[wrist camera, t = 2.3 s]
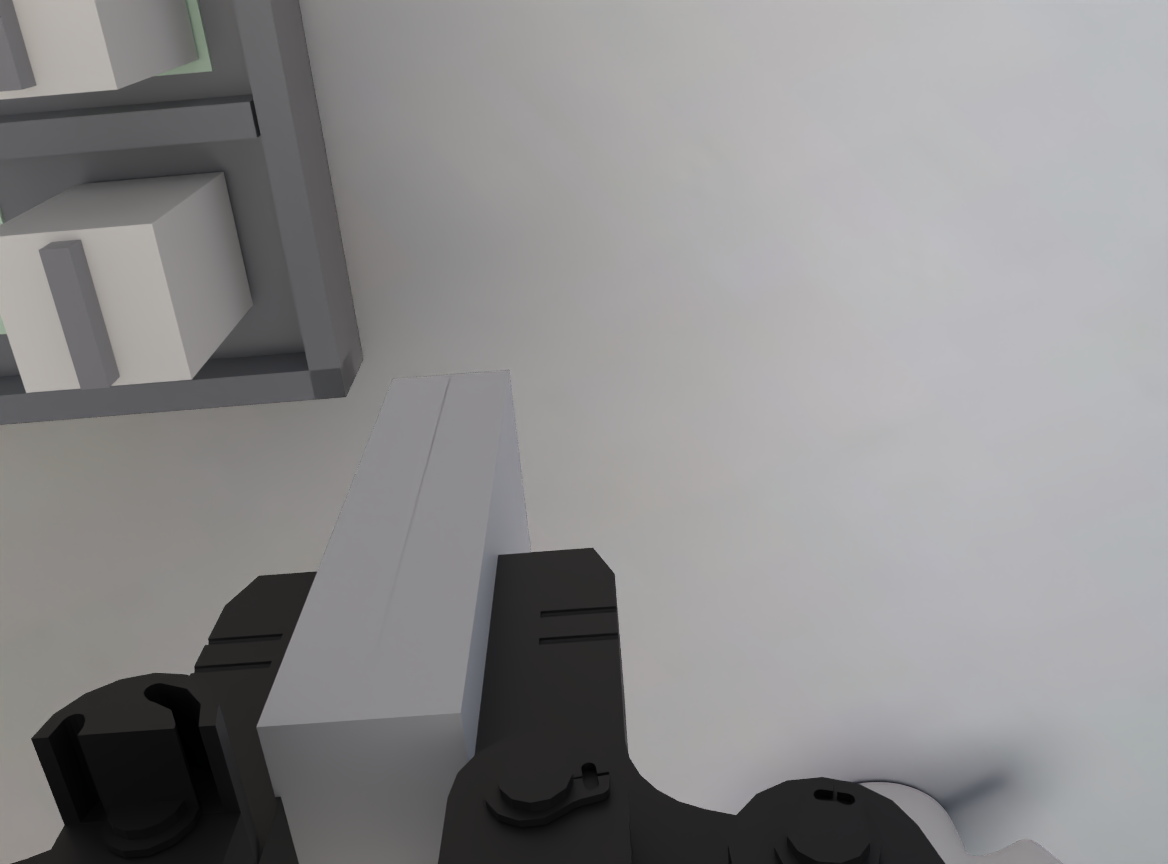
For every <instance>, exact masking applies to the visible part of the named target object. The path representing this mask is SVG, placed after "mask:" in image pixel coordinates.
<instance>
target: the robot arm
mask: <svg viewBox="0 0 1168 864" xmlns="http://www.w3.org/2000/svg"><path fill="white" fill-rule="evenodd" d="M208 640H209V645H205V646H204V648H203V650H202V652H201V654H200V656H199V658H198V660H197V662H196V664H195V666H194V667H195V672H194V673H191V674H190V676H188V675H183V674H166V673H152V674H147V675H142V676H136V677H131V678H126V679H120V680H118V681H115V682H113V683H111V684H108V685H106V686H103V687H101V688H98V689H96V690H93V691H91V692H88V693H86V694H84V695H82V696H81V697H79V698H78V699H76V700H75V701H73V702H72V703H70V704H69V705H67V706H66V707H64V708H63V709H61V710H59V711H58V712H56V713H55V714H53V716H52V717H51V718H50V719H49V720H48V721H47V722H46V723H45V724H44V725H43V726H42V727H41V729H40V730H39V731H38V732H37V733H36V734H35V735H34V736H33V737H32V738H31V739H32V742H33V745H34V747H35V750H36V752H37V755H38V757H39V760H40V763H41V765H42V768H43V770H44V773H45V775H46V778H47V781H48V783H49V786H50V788H51V791H52V794H53V796H54V799H55V801H56V804H57V806H58V809H59V812H60V814H61V817H62V819H63V822H64V824H65V826H64V827H63V829H62V831H61V833H60V835H59V836H58V838H57V840H56V842H55V843H54V845H53V847H52V849H51V850H49V851H46V852H43V853H41V854H38V855H36V856H33V857H30V858H28V859H25V860H22V861H18V862H15V863H12V864H945V862H944V861H943V860H942V858H941V857H940V855H939V854H938V853H937V851H936V850H935V848H934V847H933V846H932V844H931V843H930V841H929V840H928V839H927V837H926V836H925V834H924V833H923V832H922V830H921V829H920V827H919V826H918V825H917V824H916V823H915V822H914V821H913V820H912V819H911V818H910V817H909V816H908V815H907V814H906V813H905V812H904V811H903V810H902V809H901V808H900V807H899V806H898V805H897V804H896V803H895V802H894V801H893V800H891V799H889V798H887V797H885V796H883V795H881V794H879V793H877V792H875V791H873V790H871V789H868V788H866V787H864V786H862V785H860V784H857V783H852V782H846V781H841V780H835V779H830V778H824V777H819V778H809V779H799V780H789V781H785V782H783V783H781V784H778V785H776V786H774V787H771V788H769V789H767V790H765V791H762V792H760V793H758V794H756V795H755V796H754V797H753V798H752V799H751V801H750V802H749V803H748V804H747V805H746V806H745V807H744V808H743V809H742V810H741V811H740V812H739V813H738V814H737V815H732V814H726V813H721V812H716V811H711V810H706V809H702V808H699V807H696V806H692V805H689V804H685V803H682V802H679V801H677V800H675V799H673V798H671V797H669V796H668V795H666V794H664V793H662V792H660V791H658V790H657V789H655V788H654V787H653V786H652V785H651V784H650V783H649V782H648V781H646V780H645V779H644V778H643V777H642V776H641V775H640V774H639V772H638V771H637V769H636V768H635V766H634V764H633V763H632V761H631V760H630V758H629V754H628V744H627V730H626V714H625V699H624V685H623V673H622V660H621V648H620V635H619V623H618V610H617V598H616V586H615V574H614V573H613V571H612V570H611V569H610V568H609V567H608V565H607V564H606V563H605V562H604V561H603V559H602V558H601V557H600V556H599V555H598V553H597V552H596V551H595V550H594V549H593V548H584V549H571V550H557V551H543V552H531V549H530V541H529V532H528V524H527V515H526V507H525V499H524V490H523V482H522V474H521V465H520V457H519V448H518V440H517V432H516V423H515V415H514V406H513V398H512V390H511V381H510V373H509V370H501V371H488V372H475V373H463V374H450V375H437V376H424V377H412V378H399V379H393V380H392V382H391V385H390V387H389V390H388V392H387V395H386V397H385V400H384V403H383V405H382V408H381V410H380V413H379V415H378V418H377V420H376V423H375V426H374V428H373V431H372V433H371V436H370V438H369V441H368V443H367V446H366V449H365V451H364V454H363V456H362V459H361V461H360V464H359V466H358V469H357V472H356V474H355V477H354V479H353V482H352V484H351V487H350V489H349V492H348V494H347V497H346V500H345V502H344V505H343V507H342V510H341V512H340V515H339V517H338V520H337V523H336V525H335V528H334V530H333V533H332V535H331V538H330V540H329V543H328V546H327V548H326V551H325V553H324V556H323V558H322V561H321V563H320V566H319V569H318V571H317V572H304V573H291V574H277V575H264V576H258V577H257V578H256V579H255V580H254V581H253V582H251V583H250V584H249V585H248V586H247V587H246V588H245V589H244V590H242V591H241V592H240V593H239V594H238V595H237V596H236V597H234V598H233V599H232V600H231V601H230V602H229V603H228V604H226V605H225V607H224V609H223V611H222V613H221V615H220V617H219V619H218V621H217V623H216V625H215V627H214V629H213V631H212V633H211V635H210V637H209V638H208Z"/></svg>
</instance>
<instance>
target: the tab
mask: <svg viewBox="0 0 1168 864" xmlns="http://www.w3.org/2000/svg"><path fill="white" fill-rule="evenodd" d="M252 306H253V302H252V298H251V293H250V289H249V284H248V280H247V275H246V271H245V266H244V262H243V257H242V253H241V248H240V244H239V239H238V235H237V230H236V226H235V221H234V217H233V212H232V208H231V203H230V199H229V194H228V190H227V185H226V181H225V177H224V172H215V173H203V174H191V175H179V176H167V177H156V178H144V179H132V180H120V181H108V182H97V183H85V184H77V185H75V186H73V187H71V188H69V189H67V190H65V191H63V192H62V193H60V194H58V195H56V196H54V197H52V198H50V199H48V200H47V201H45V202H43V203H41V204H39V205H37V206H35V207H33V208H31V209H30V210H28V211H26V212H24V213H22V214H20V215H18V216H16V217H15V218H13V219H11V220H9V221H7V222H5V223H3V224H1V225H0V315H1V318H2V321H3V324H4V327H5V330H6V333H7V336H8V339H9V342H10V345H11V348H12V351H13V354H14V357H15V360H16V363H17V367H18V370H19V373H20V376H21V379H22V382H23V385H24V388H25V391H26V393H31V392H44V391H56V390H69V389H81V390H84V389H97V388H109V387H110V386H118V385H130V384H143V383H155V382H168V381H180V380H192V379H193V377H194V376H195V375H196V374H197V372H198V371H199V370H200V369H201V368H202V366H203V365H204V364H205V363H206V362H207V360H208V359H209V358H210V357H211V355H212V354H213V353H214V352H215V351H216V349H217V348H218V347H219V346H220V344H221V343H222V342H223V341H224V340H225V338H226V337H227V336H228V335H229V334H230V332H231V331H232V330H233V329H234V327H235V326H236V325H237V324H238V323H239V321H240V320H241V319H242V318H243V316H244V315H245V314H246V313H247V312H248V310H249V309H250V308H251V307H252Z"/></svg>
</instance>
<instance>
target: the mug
mask: <svg viewBox="0 0 1168 864" xmlns="http://www.w3.org/2000/svg"><path fill="white" fill-rule="evenodd" d="M859 784H860V785H862V786H864V787H866V788H868V789H871V790H873V791H875V792H877V793H879V794H881V795H883V796H885V797H887V798H889V799H891V800H893V801H894V802H895V803H896V804H897V805H898V806H899V807H900V808H901V809H902V810H903V811H904V812H905V813H906V814H907V815H908V816H909V817H910V818H911V819H912V820H913V821H914V822H915V823H916V824H917V825H918V826H919V827H920V829H921V830H922V832H923V833H924V834H925V836H926V837H927V839H928V840H929V841H930V843H931V844H932V846H933V847H934V848H935V850H936V851H937V853H938V854H939V855H940V857H941V858H942V860H943V861H944V862H945V864H1063V863H1062V862H1061V861H1060V860H1058V859H1057V858H1056V857H1054V856H1053V855H1052V854H1051V853H1049V852H1048V851H1047V850H1046V849H1044V848H1043V847H1042V846H1040V845H1039V844H1037V843H1036V842H1034V841H1032V840H1029V839H1023V840H1020V841H1017V842H1015V843H1013V844H1012V845H1010V846H1008V847H1006V848H1004V849H1002V850H1000V851H997V852H994V853H991V854H987V855H980V856H971V855H968V854H967V852H966V850H965V848H964V845H963V843H962V841H961V839H960V837H959V835H958V833H957V830H956V828H955V826H954V824H953V822H952V820H951V818H950V817H949V815H948V813H947V812H946V811H945V809H944V808H943V807H942V806H941V805H940V804H939V803H938V802H937V801H936V800H934V799H933V798H932V797H930V796H929V795H927V794H925V793H923V792H921V791H919V790H917V789H914V788H912V787H909V786H905V785H901V784H896V783H888V782H867V783H859Z"/></svg>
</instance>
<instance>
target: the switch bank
mask: <svg viewBox="0 0 1168 864" xmlns="http://www.w3.org/2000/svg"><path fill="white" fill-rule="evenodd" d="M185 1H186V6H187V10H188V15H189V19H190V24H191V28H192V33H193V37H194V42H195V46H196V51H197V55H198V60H196V61H193V62H190V63H188V64H185V65H182V66H180V67H177V68H174V69H172V70H169V71H166V72H163V73H161V74H158V75H155V76H153V77H150V78H147V79H144V80H142V81H139V82H136V83H134V84H131V85H128V86H125V87H123V88H120V89H117V90H106V91H94V92H83V93H71V94H60V95H48V96H36V97H25V98H13V99H2V100H0V225H1V224H3V223H5V222H7V221H9V220H11V219H13V218H15V217H16V216H18V215H20V214H22V213H24V212H26V211H28V210H30V209H31V208H33V207H35V206H37V205H39V204H41V203H43V202H45V201H47V200H48V199H50V198H52V197H54V196H56V195H58V194H60V193H62V192H63V191H65V190H67V189H69V188H71V187H73V186H75V185H77V184H85V183H97V182H108V181H120V180H132V179H144V178H156V177H167V176H179V175H191V174H203V173H215V172H224V177H225V181H226V185H227V190H228V194H229V199H230V203H231V208H232V212H233V217H234V221H235V226H236V230H237V235H238V239H239V244H240V248H241V253H242V257H243V262H244V266H245V271H246V275H247V280H248V284H249V289H250V293H251V298H252V302H253V306H252V307H251V308H250V309H249V310H248V312H247V313H246V314H245V315H244V316H243V318H242V319H241V320H240V321H239V323H238V324H237V325H236V326H235V327H234V329H233V330H232V331H231V332H230V334H229V335H228V336H227V337H226V338H225V340H224V341H223V342H222V343H221V344H220V346H219V347H218V348H217V349H216V351H215V352H214V353H213V354H212V355H211V357H210V358H209V359H208V360H207V362H206V363H205V364H204V365H203V366H202V368H201V369H200V370H199V371H198V372H197V374H196V375H195V376H194V377H193V379H192V380H180V381H168V382H155V383H143V384H130V385H118V386H110V387H109V388H97V389H84V390H81V389H69V390H56V391H44V392H31V393H26V391H25V388H24V385H23V382H22V379H21V376H20V373H19V370H18V367H17V363H16V360H15V357H14V354H13V351H12V348H11V345H10V342H9V339H8V336H7V333H6V330H5V327H4V324H3V321H2V318H1V315H0V425H4V424H16V423H29V422H41V421H53V420H66V419H78V418H91V417H103V416H116V415H128V414H141V413H153V412H166V411H178V410H191V409H203V408H216V407H228V406H240V405H253V404H265V403H278V402H290V401H303V400H315V399H328V398H340V397H346V396H347V394H348V391H349V389H350V387H351V385H352V383H353V381H354V379H355V376H356V374H357V372H358V370H359V368H360V366H361V363H362V361H363V356H362V350H361V345H360V339H359V334H358V328H357V323H356V317H355V312H354V306H353V301H352V295H351V290H350V284H349V278H348V273H347V267H346V262H345V256H344V251H343V245H342V240H341V234H340V229H339V223H338V218H337V212H336V207H335V201H334V195H333V190H332V184H331V179H330V173H329V168H328V162H327V157H326V151H325V146H324V140H323V135H322V129H321V124H320V118H319V112H318V107H317V101H316V96H315V90H314V85H313V79H312V74H311V68H310V63H309V57H308V52H307V46H306V41H305V35H304V29H303V24H302V18H301V13H300V7H299V2H298V0H185Z"/></svg>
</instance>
